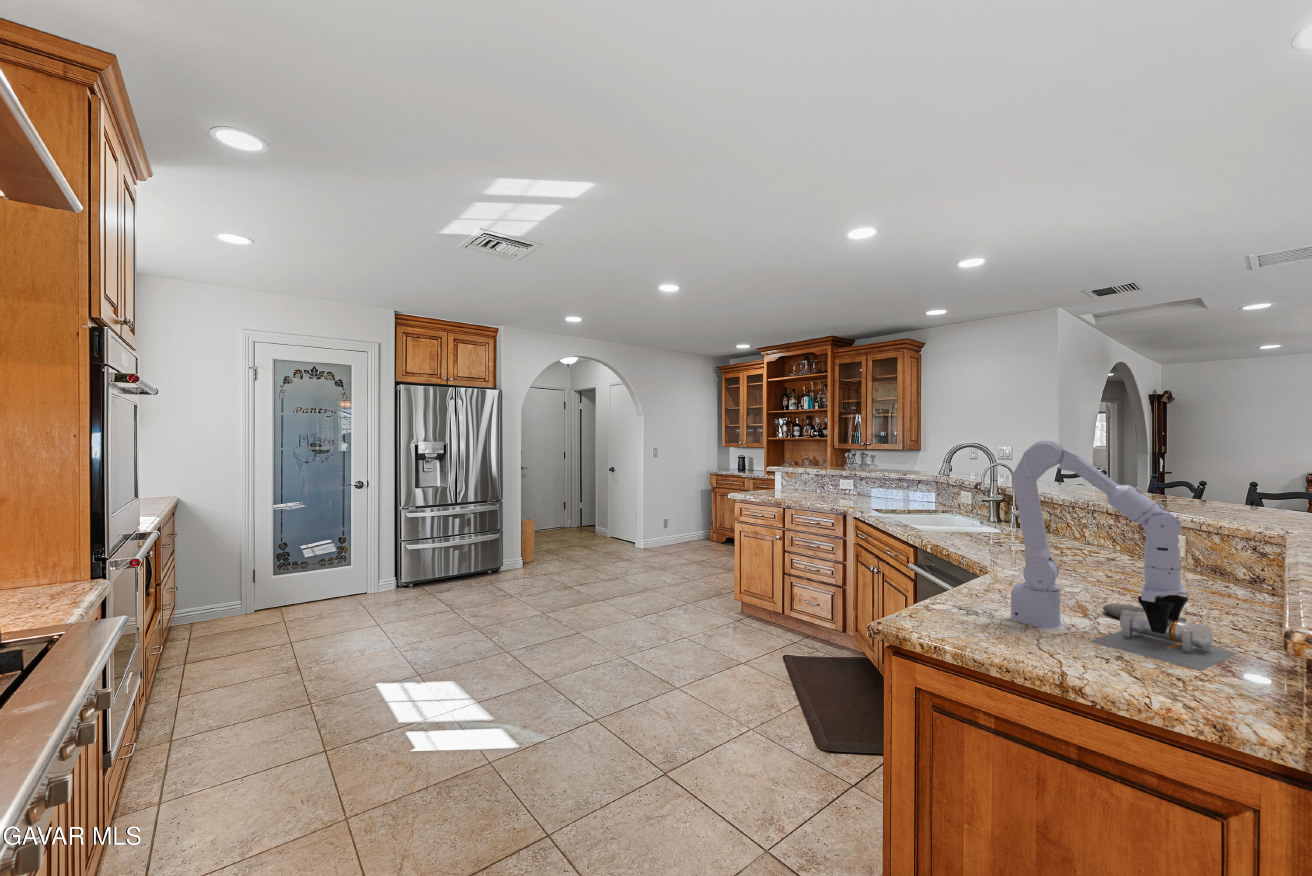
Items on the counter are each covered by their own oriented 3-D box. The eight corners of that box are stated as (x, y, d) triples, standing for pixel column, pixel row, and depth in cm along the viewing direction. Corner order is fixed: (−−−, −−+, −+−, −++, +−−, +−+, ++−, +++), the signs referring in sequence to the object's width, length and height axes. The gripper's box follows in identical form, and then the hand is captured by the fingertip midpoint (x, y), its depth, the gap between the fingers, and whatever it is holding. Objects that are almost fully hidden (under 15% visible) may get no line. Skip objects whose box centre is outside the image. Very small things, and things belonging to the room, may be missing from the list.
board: (1089, 644, 120) (1089, 641, 120) (1129, 630, 128) (1129, 627, 128) (1201, 673, 104) (1201, 670, 104) (1237, 656, 112) (1237, 653, 112)
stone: (1098, 618, 137) (1180, 642, 126) (1100, 603, 136) (1183, 626, 125) (1106, 604, 144) (1185, 626, 133) (1109, 590, 143) (1188, 611, 133)
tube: (1119, 630, 124) (1119, 610, 124) (1129, 628, 126) (1129, 609, 126) (1204, 650, 111) (1204, 628, 112) (1212, 648, 113) (1212, 626, 114)
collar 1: (1123, 637, 122) (1122, 617, 122) (1139, 631, 126) (1139, 611, 126) (1129, 639, 121) (1129, 618, 121) (1146, 633, 125) (1146, 613, 125)
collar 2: (1182, 652, 113) (1182, 630, 113) (1198, 645, 117) (1198, 623, 117) (1190, 654, 112) (1189, 631, 112) (1206, 647, 116) (1206, 625, 116)
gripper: (1171, 574, 112) (1172, 642, 112) (1200, 566, 119) (1202, 630, 119) (1128, 568, 118) (1130, 631, 118) (1159, 561, 125) (1160, 621, 125)
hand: (1163, 630), depth 119 cm, fingers closed on tube, 4 cm apart
